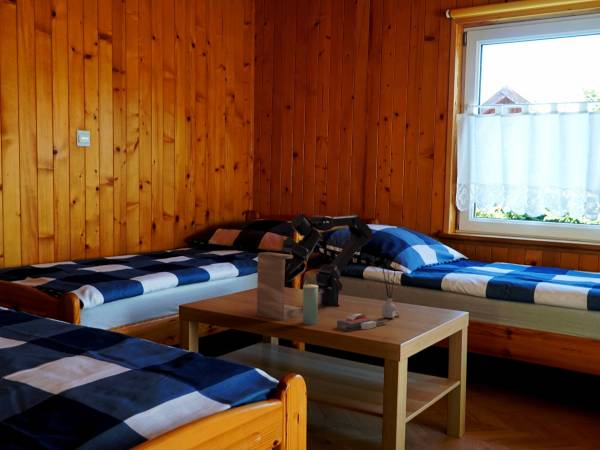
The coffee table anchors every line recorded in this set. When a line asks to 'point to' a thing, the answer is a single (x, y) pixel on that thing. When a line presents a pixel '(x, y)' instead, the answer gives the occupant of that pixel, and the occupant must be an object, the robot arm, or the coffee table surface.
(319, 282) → the robot arm
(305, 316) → the tea tin
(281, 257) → the nook
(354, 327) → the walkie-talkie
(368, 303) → the coffee table surface
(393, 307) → the reed diffuser
